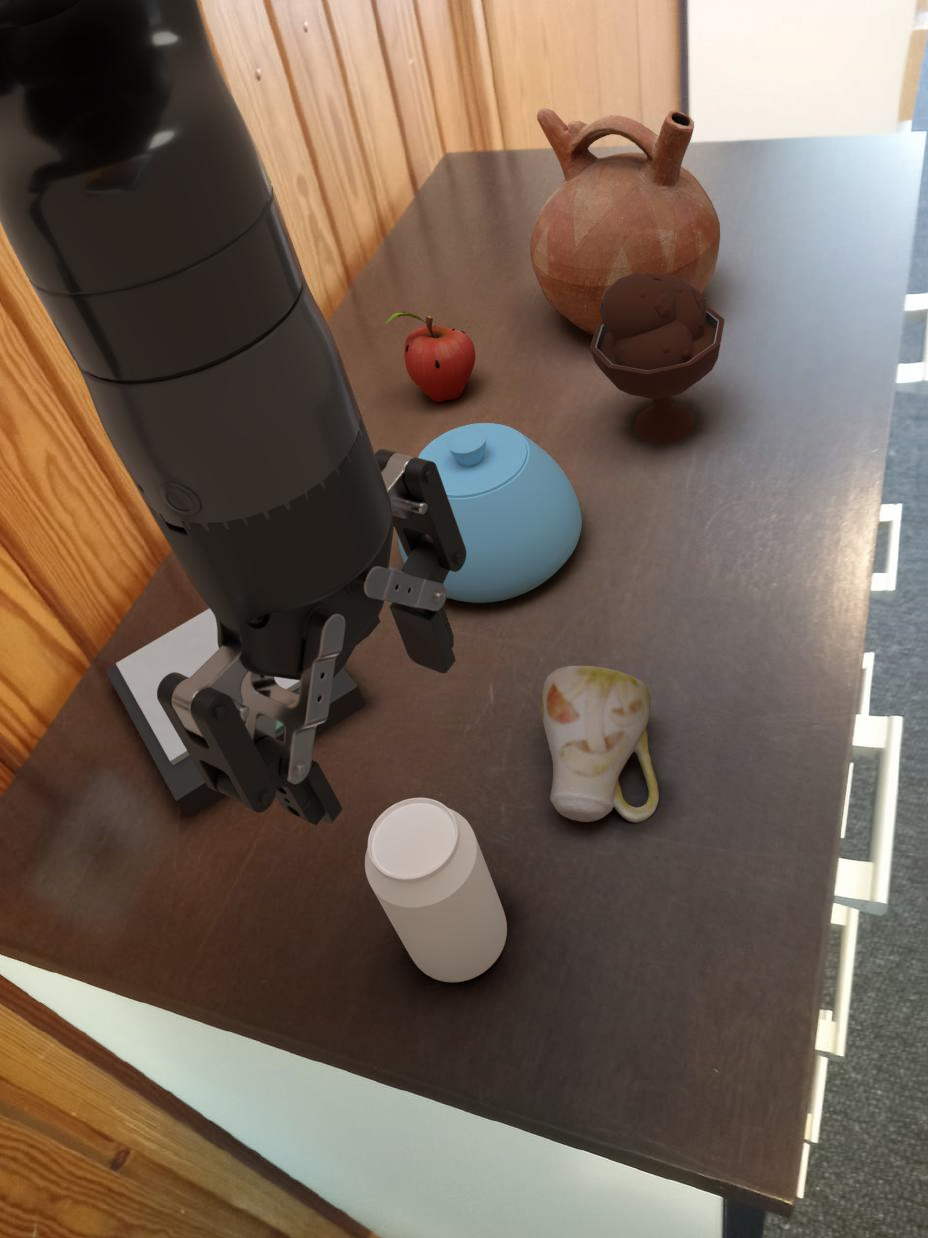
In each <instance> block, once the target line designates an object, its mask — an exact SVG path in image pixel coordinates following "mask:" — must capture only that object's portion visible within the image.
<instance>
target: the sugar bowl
mask: <svg viewBox="0 0 928 1238" xmlns="http://www.w3.org/2000/svg"><path fill="white" fill-rule="evenodd" d="M417 458H421V459H425V460H429V461H432V462H434V463H435V464H436V466H437V469H438V471H439V474H440V477H441V480H442V483H443V486H444V488H445V491H446V494H447V497H448V500H449V502H450V505H451V508H452V511H453V514H454V517H455V519H456V522H457V525H458V528H459V531H460V534H461V536H462V539H463V542H464V545H465V548H466V560H465V563H464V565H463V567H462V568H461V569H460V570H459V571H457V572H453V571H449V573H448V575H447V577H446V579H445V581H444V583H443V584H444V585H445V586H446V588H447V597H446V599H450V600H454V601H459V602H463V603H472V604H473V603H475V604H485V603H497V602H501V601H507V600H510V599H513V598H517V597H518V596H522V595H525V594H526V593H528V592H531V591H533V590H534V589H536V588H537V587H539V586H541V585H542V584H544V583H545V582H546V581H548V580H549V579H550V578H551V577H553V576H554V575H555V574H556V573H557V572H558V571H559V570H560V569H561V568H562V567H563V566H564V565H565V564H566V562H567V561H568V560H569V559H570V557H571V556H572V554H573V552H574V551H575V549H576V547H577V545H578V543H579V540H580V536H581V534H582V533H581V531H582V526H583V516H582V511H581V506H580V502H579V499H578V497H577V495H576V492H575V490H574V487H573V485H572V483H571V482H570V480H569V478H568V476H567V475H566V473H565V472H564V470H563V469H562V468H561V466H560V465H559V463H557V462H556V460H554V458H553V457H552V456H551V455H550V454H549V453H548V452H546V451H545V450H544V449H543V448H542V447H540V446H539V445H538V444H536V443H535V442H534V441H533V440H531V439H530V438H529V437H527V436H526V435H525V434H524V433H521V432H520V431H518V430H516V429H514V428H513V427H510V426H508V425H504V424H500V423H493V422H477V423H471V424H466V425H461V426H459V427H455V428H453V429H451V430H448V431H446V432H444V433H442V434H440V435H439V436H437V437H436V438H435V439H432V441H431V442H430V443H428V444H427V445H426V446H425V447H424V448H423V449H422V451H421V452H419V455H418V457H417ZM397 541H398V542H397V543H398V549H399V552H400V556H401V559H402V562H403V564H404V565H405V563H406V561H407V559H408V557H407V555H406V554H405V551H404V549H403V546H402V544H401V542H400V539H399V537H398V536H397Z"/></svg>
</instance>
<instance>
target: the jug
mask: <svg viewBox="0 0 928 1238" xmlns="http://www.w3.org/2000/svg"><path fill="white" fill-rule="evenodd" d="M536 118H537V119H536V120H537V122H538V124H539V126H540V128H541V130H542V132H543V134H544V135H545V137H546V139H547V141H548V143H549V144H550V146H551V149H552V150H553V152H554V154H555V156H556V158H557V161H558V162H559V165H560V167H561V170H562V174H563V177H564V179H563V180H562V182H561V183H560V184H559V185H558V187H557V188H556V189H555V190H554V191H553V192H552V194H551V195H550V196H549V197H548V199H546V202H545V203H544V204H543V205H542V207H541V209H540V211H539V214H538V216H537V217H536V218H537V219H536V221H535V223H534V226H533V229H532V232H531V237H530V242H529V251H530V252H529V254H530V260H531V265H532V268H533V273H534V274H535V278H536V280H537V283H538V284H539V287H540V289H541V291H542V294H543V295H544V297H545V300H546V301H547V302H548V303H549V304H550V305H551V306H552V307H553V308H554V309H555V310H556V311H557V312H559V313H560V314H561V315H562V316H563V317H565V318H566V319H567V320H569V321H570V322H571V323H572V324H573V325H575V326H576V327H577V328H579V329H580V330H582V331H584V332H585V333H586V334H587V335H590V336H592V337H593V336H594V333H595V329H596V326H597V324H599V323H600V322H602V317H601V314H600V312H599V310H600V307H601V304H602V302H603V298H604V295H605V293H606V291H607V290H608V289H609V288H610V287H611V286H612V285H613V284H614V283H615V282H616V281H617V280H618V279H620V278H623V277H625V276H628V275H631V274H634V273H644V274H645V273H653V274H656V275H657V274H664V275H673V276H677V277H679V278H681V279H682V280H684V281H685V282H687V283H688V284H689V285H691V286H692V287H694V288H695V289H697V290H698V291H699V292H700V293H701V294H702V295H703V292H704V291H705V289H706V288H707V285H708V284H709V282H710V280H711V278H712V277H713V275H714V273H715V270H716V265H717V262H718V257H719V251H720V245H721V223H720V220H719V217H718V213H717V211H716V208H715V207H714V203H713V201H712V199H711V198H710V196H709V195H708V193H707V191H706V190H705V188H704V187H703V185H702V184H701V183H700V181H699V180H698V178H696V177H695V175H694V174H692V172H690V171H689V170H688V169H686V168H685V167H683V166H682V164H683V160H684V157H685V155H686V152H687V150H688V147H689V145H690V142H691V139H692V135H693V132H694V129H695V121H694V120H693V119H692V118H691V116H690V115H687V114H686V113H684V112H681V111H679V110H677V109H674V110H669V111H668V113H667V114H666V116H665V119H664V121H663V123H662V125H661V128H660V131H659V134H656V133H655V132H654V131H653V130H652V129H650V128H649V127H647V126H645V125H644V124H643V123H641V122H639V121H637V120H635V119H632V118H630V117H627V116H623V115H614V114H613V115H607V116H603V117H601V118H598V119H597V120H595V121H593V122H592V123H591V124H587V123H585V122H583V121H582V120H573V121H570V122H568V124H566V123H565V122H564V121H563V120H562V119H561V118H560V116H559V115H558V114H557V113H556V112H555V111H554V110H552V109H550V108H546V107H544V108H541V109H539V110H538V111H537V114H536ZM611 135H615V136H621V137H623V138H625V139H627V140H628V141H630V142H632V143H633V144H635V145H636V146H637V147H638V148H639V149H640V152H639V151H631V152H629V151H628V152H620V153H616V154H611V155H606V156H604V157H598V156H596V155H595V154H593V152H591V151H590V150H589V148H590V146H591V145H592V144H593V143H595V142H596V141H598V140H600V139H602V138H604V137H607V136H611ZM641 151H642V152H641Z"/></svg>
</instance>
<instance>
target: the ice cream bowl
mask: <svg viewBox="0 0 928 1238" xmlns="http://www.w3.org/2000/svg"><path fill="white" fill-rule="evenodd" d="M599 312H600V314H601V317H602V322H600V323H599V324H597V326H596V329H595V333H594V336H593V335H592V338H591V339H592V340H591V343H590V346H589V351H590V353H591V356H592V358H593V360H594V363H595V364H596V365H597V367H598V368H599V369H600V371H601V372H602V374H604V376H605V377H606V378H607V379H608V380H609V381H610V382H611V383H612V384H613V385H614V386H615V388H617V389H618V390H619V391H621V392H624V393H625V394H628V395H631V396H635V397H639V398H640V397H641V398H645V399H651V400H652V401H651V402H652V405H649V406H648V407H647V408H646V409H644V410H643V411H641V412H639V413H638V414H637V416H636V420H635V423H634V428H633V431H634V433H635V434H636V435H637V436H638V437H639V438H640V439H641V440H642V441H643V442H648V443H654V444H659V445H663V444H667V443H673V442H677V441H678V442H679V441H681V440H682V439H684V438H685V437H686V436H688V435H689V434H691V433H692V432H693V431H694V428H695V423H696V416H695V414H694V413H693V412H692V411H691V410H690V409H689V408H688V407H687V406H686V405H683V404H679V403H674V399H673V396H677V395H681V394H683V393H684V392H686V391H687V390H688V389H690V388H691V387H693V386H694V385H695V384H697V383H698V382H699V381H701V380H702V379H703V378H705V377H706V376H707V375H709V373H710V372H712V371H713V369H714V367H715V365H716V363H717V361H718V359H719V354H720V348H721V343H722V337H723V332H724V326H725V318H724V317H722V316H721V315H720V314H719V313H717V312H716V311H715V310H714V309H713V308H712V307H710V306H709V305H707V303H706V297H705V296H704V295H703V293H702V294H701V293H700V292H699V291H698V290H697V289H695V288H694V287H692V286H691V285H689V284H688V283H687V282H685V281H684V280H682V279H681V278H679V277H677V276H673V275H664V274H657V275H656V274H653V273H645V274H644V273H634V274H631V275H628V276H625V277H623V278H620V279H618V280H617V281H616V282H615V283H614V284H613V285H612V286H611V287H610V288H609V289H608V290H607V291H606V293H605V295H604V298H603V302H602V304H601V307H600V310H599Z"/></svg>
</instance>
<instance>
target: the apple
mask: <svg viewBox="0 0 928 1238" xmlns="http://www.w3.org/2000/svg"><path fill="white" fill-rule="evenodd" d="M400 317H411V318H412V319H416V320H419V321H421V322H423V323H425V325H426V326H423V327H419V328H416V329H413V330H412V331H410V332H409V334H408V335H407V337H406V338H405V342H404V364H405V368H406V372H407V374H408V376H409V378H410V379H411V380H412V382H413V383H414V384H415V385H416V386H417V387H418V388H419V389H420V390H421V391H422V392H424V394H425V395H427V397H428V398H430V399H431V400H432V401H434V402H437V403H440V402H441V403H443V402H445V401H450V400H456V399H458V398H459V397H461V395H462V393H463V392H464V389H465V387H466V386H467V384H468V381H469V380H470V377H471V375H472V373H473V370H474V369H475V368H474V367H475V363H476V358H477V357H476V348H475V345H474V343H473V341H472V339H471V337H469V335H467V333H466V332H465V331H463V330H458V329H455V328H450V327H442V326H436V325H433V321H434V317H433V316H431V315H426V316H425V320H424V319H422V318H421V317H419V315H416V314H414V313H411V312H406V311H402V312H395V313H393V314H392V315H390V317H388V318H387V320H386V321H385V322H384V323H382V324H381V326H384V325H387V324H388V323H390V322H391V321H393V320H394V319H396V318H400Z"/></svg>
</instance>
